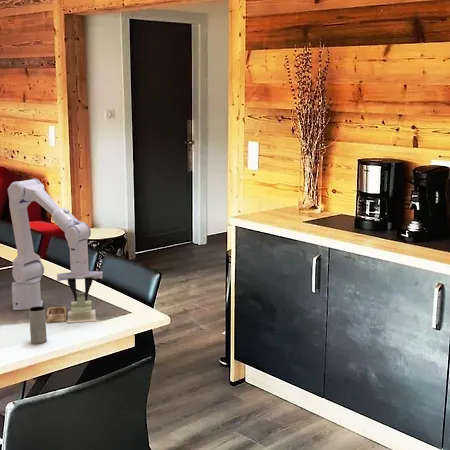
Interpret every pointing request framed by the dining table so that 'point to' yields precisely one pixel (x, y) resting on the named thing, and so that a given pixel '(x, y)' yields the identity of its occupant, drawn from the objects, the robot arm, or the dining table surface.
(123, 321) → the dining table surface
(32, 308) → the cardboard tube
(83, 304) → the lid
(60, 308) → the box
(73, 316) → the mat
